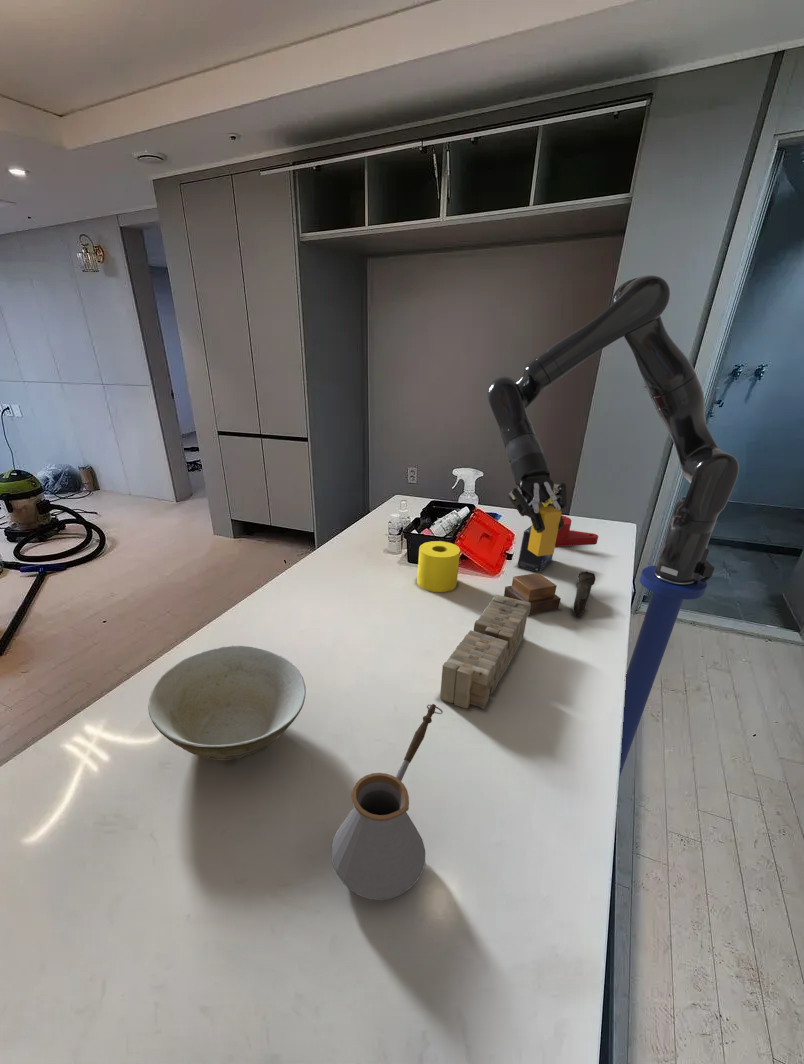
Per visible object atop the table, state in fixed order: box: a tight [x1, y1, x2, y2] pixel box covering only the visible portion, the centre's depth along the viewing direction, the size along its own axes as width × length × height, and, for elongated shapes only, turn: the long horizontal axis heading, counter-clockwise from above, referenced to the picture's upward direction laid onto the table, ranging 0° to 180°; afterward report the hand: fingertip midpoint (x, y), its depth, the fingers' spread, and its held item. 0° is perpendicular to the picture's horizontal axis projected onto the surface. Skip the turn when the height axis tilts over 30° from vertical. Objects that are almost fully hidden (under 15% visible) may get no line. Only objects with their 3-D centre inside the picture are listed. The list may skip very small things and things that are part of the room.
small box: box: [516, 525, 554, 573], centre depth 138 cm, size 11×6×10 cm, turn 143°
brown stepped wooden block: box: [503, 572, 562, 616], centre depth 119 cm, size 9×9×6 cm
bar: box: [528, 506, 562, 556], centre depth 112 cm, size 4×4×10 cm
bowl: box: [147, 645, 307, 761], centre depth 81 cm, size 24×24×10 cm
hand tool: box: [573, 570, 596, 619], centre depth 121 cm, size 19×4×5 cm, turn 151°
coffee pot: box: [330, 703, 444, 901], centre depth 63 cm, size 21×12×15 cm, turn 149°
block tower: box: [439, 594, 531, 709], centre depth 98 cm, size 8×8×29 cm
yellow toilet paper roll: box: [416, 540, 461, 593], centre depth 128 cm, size 10×10×9 cm
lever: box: [555, 514, 599, 547], centre depth 153 cm, size 18×9×7 cm, turn 80°
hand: (550, 529), depth 110 cm, fingers closed on bar, 4 cm apart
